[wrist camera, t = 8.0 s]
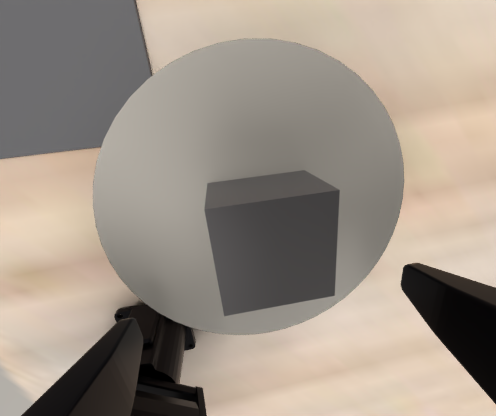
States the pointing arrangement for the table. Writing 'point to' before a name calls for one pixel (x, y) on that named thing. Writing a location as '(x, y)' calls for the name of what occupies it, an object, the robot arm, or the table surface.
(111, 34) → the charcoal mat
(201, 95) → the lid
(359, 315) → the table surface
